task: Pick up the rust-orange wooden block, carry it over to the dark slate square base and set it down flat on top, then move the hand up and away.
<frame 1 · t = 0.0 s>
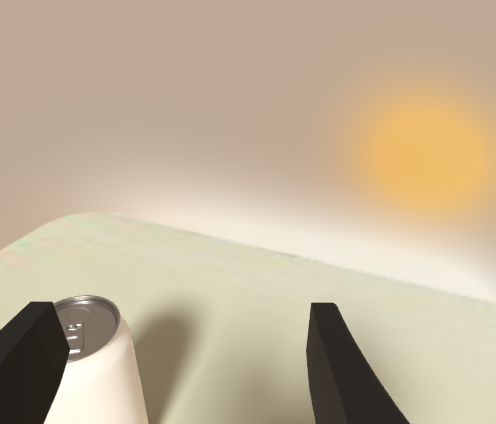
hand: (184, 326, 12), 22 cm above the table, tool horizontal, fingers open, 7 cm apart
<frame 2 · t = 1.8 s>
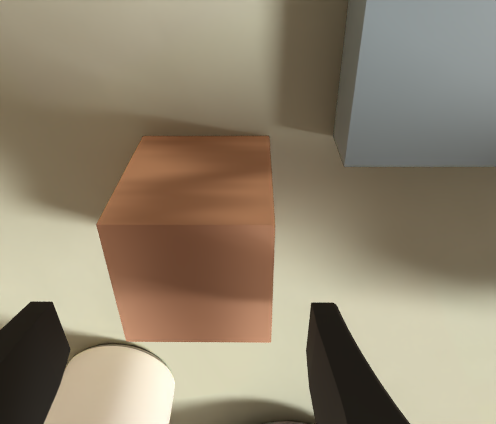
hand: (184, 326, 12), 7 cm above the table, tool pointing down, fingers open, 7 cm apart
can: (123, 372, 26), on the table
block: (209, 189, 18), on the table
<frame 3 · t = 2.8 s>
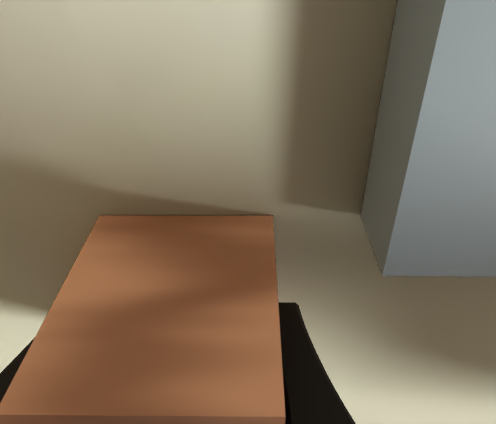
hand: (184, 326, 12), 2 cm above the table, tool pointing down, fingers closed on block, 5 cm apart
block: (192, 279, 14), on the table, touching gripper
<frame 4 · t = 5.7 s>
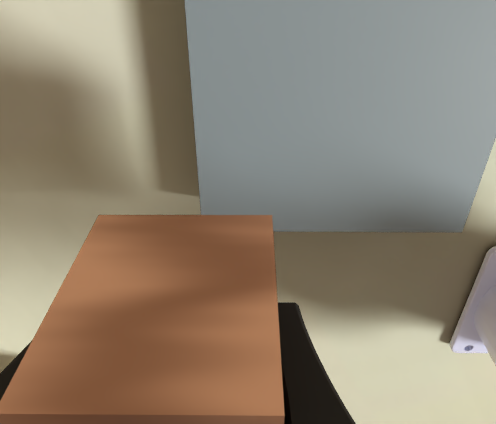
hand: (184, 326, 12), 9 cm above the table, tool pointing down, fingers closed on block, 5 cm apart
block: (192, 279, 14), point 7 cm above the table, touching gripper
base: (337, 84, 17), on the table
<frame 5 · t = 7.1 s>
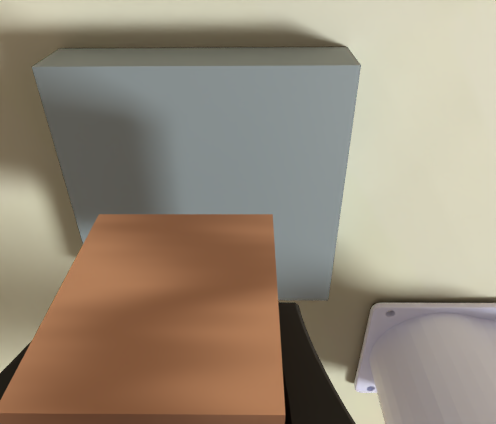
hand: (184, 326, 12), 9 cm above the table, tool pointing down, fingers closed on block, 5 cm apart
block: (192, 278, 14), point 7 cm above the table, touching gripper
base: (211, 173, 19), on the table
when the fingers open (5 cm above the table, at t = 8.3 s): block stays where it is, resting on base.
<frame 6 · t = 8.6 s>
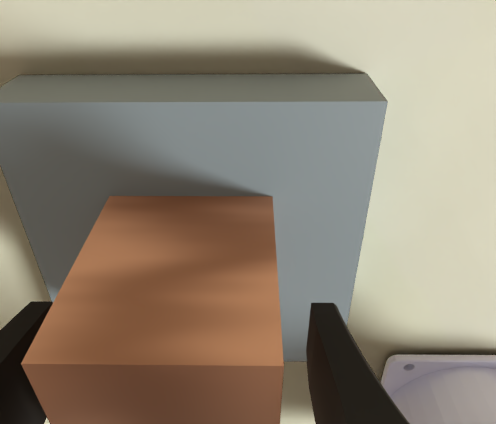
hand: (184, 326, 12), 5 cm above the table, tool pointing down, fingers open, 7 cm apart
block: (196, 258, 14), point 2 cm above the table, touching base
base: (203, 217, 17), on the table
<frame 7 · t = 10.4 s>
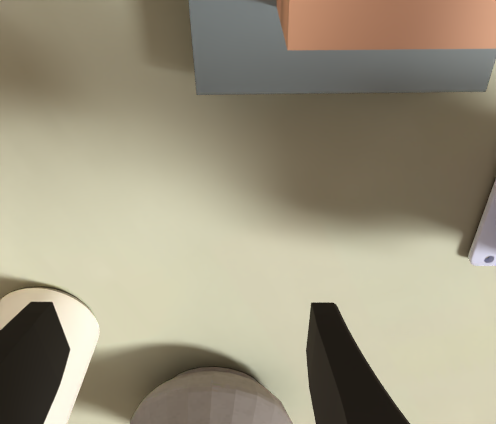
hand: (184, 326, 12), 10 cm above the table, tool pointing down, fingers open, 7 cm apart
coffee pot: (280, 397, 32), on the table
can: (52, 317, 28), on the table
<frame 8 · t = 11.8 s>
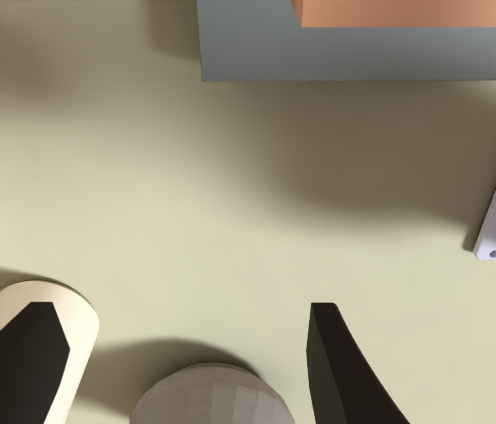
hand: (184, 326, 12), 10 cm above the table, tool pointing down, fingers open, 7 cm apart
coffee pot: (281, 394, 32), on the table
can: (51, 311, 27), on the table
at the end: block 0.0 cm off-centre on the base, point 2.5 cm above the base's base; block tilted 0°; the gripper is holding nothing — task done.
